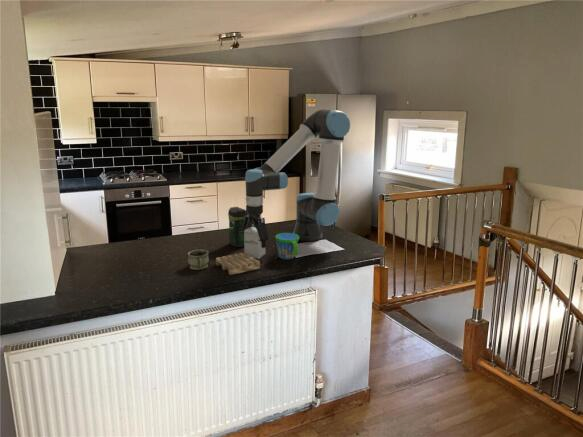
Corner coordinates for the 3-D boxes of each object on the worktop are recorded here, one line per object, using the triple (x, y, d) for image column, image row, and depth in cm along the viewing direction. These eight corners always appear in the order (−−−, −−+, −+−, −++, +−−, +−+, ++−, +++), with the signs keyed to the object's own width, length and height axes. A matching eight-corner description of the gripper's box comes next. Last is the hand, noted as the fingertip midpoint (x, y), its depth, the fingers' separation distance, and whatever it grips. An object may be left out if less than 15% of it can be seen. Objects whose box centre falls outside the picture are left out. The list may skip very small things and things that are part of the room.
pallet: (244, 258, 208) (244, 252, 207) (260, 268, 197) (260, 261, 196) (215, 264, 201) (215, 258, 200) (230, 274, 189) (230, 268, 189)
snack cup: (305, 261, 206) (305, 239, 203) (283, 264, 201) (283, 242, 199) (290, 250, 219) (290, 230, 217) (269, 253, 215) (269, 232, 212)
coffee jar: (250, 245, 225) (249, 208, 221) (235, 248, 221) (235, 211, 216) (240, 240, 233) (240, 204, 228) (226, 243, 229) (225, 206, 224)
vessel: (211, 270, 195) (211, 256, 193) (190, 272, 192) (189, 258, 190) (206, 260, 205) (205, 247, 204) (186, 263, 202) (185, 249, 201)
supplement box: (243, 257, 210) (243, 230, 207) (251, 252, 217) (251, 226, 214) (258, 259, 208) (258, 232, 204) (265, 254, 214) (265, 228, 211)
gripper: (233, 200, 214) (234, 243, 219) (261, 211, 194) (261, 259, 200) (248, 198, 218) (248, 241, 224) (276, 209, 198) (276, 256, 204)
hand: (254, 249), depth 212 cm, fingers open, 13 cm apart
